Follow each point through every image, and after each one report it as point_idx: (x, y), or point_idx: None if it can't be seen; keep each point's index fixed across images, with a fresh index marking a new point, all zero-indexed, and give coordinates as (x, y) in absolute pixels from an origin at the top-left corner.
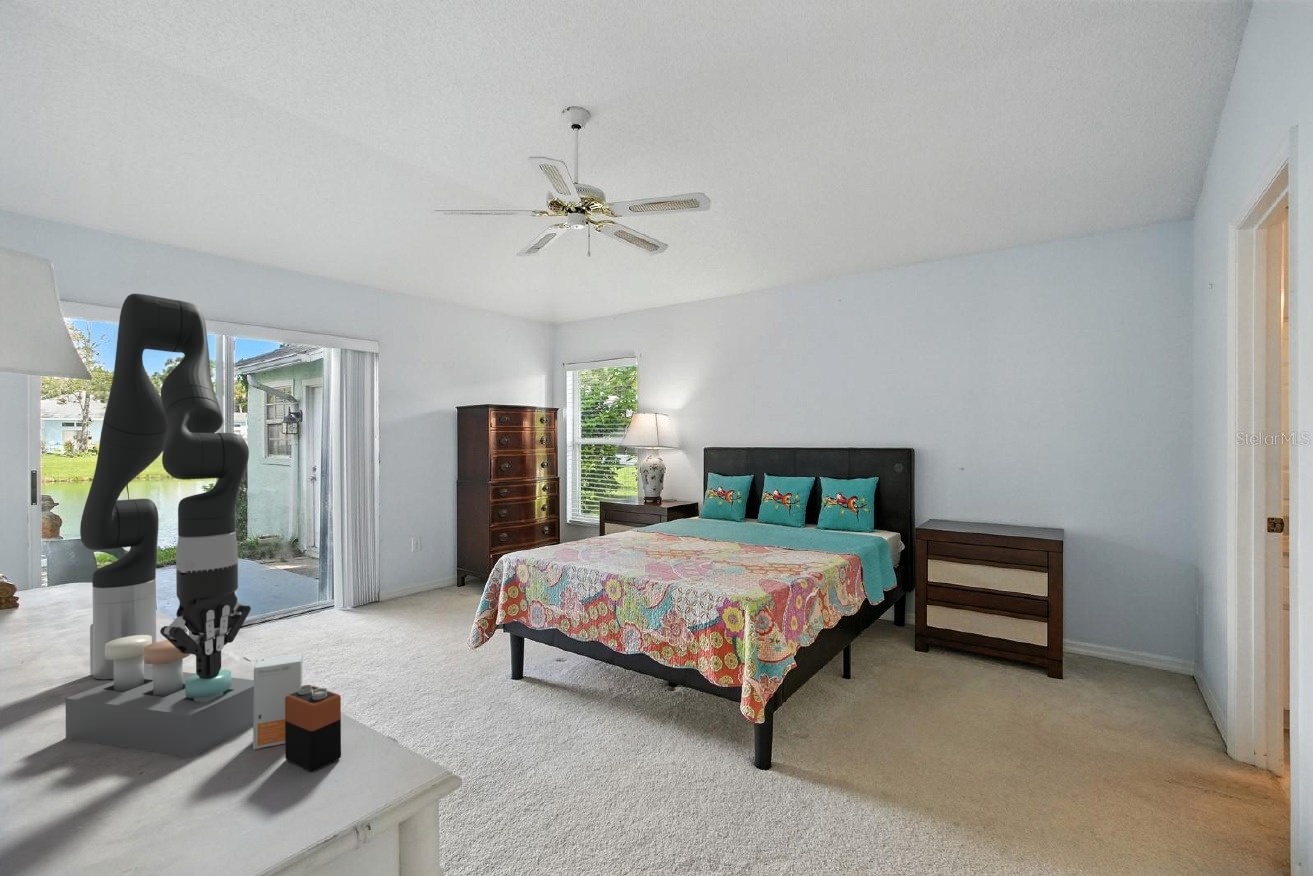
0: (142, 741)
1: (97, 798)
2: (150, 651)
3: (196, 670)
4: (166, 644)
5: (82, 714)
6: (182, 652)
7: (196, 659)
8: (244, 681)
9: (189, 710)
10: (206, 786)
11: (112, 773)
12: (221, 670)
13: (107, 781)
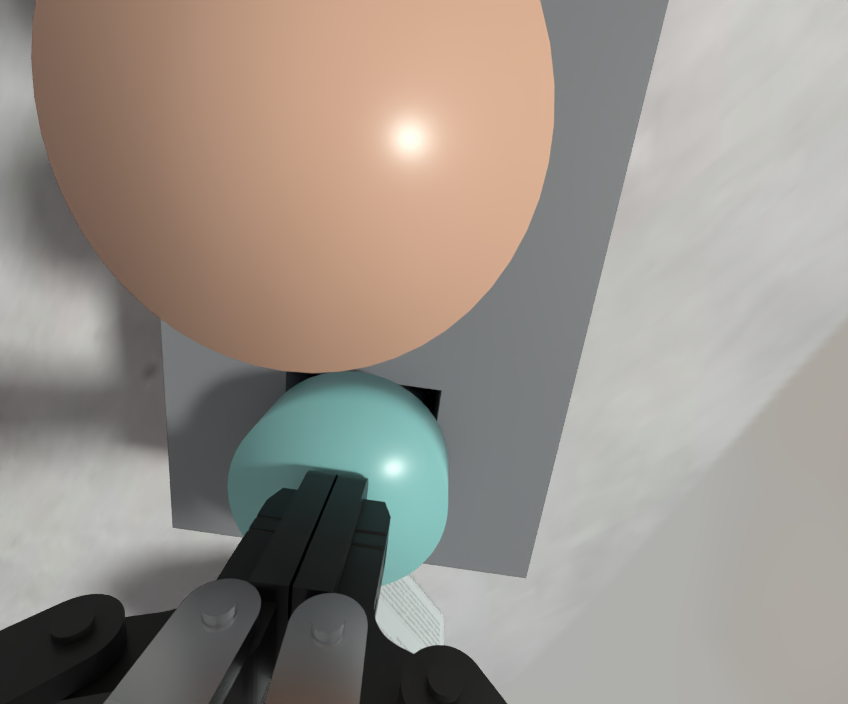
0: None
1: (26, 370)
2: (46, 128)
3: (262, 510)
4: (287, 104)
5: None
6: (51, 619)
7: (221, 573)
8: (520, 497)
9: (203, 494)
10: (154, 576)
11: (119, 287)
12: (434, 503)
13: (86, 316)
